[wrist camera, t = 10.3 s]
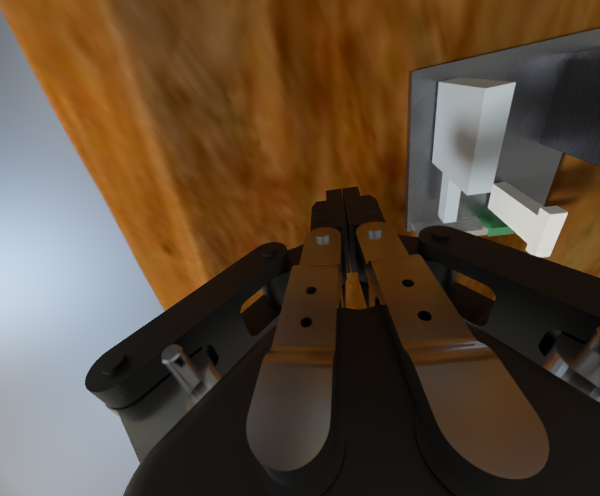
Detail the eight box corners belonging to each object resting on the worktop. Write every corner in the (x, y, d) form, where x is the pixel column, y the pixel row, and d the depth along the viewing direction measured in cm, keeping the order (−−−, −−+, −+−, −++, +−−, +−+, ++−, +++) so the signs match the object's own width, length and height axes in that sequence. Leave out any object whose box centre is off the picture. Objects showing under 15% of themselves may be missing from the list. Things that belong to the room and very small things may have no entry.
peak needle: (486, 213, 24) (533, 257, 19) (494, 177, 22) (550, 214, 17) (498, 211, 24) (549, 256, 19) (507, 175, 22) (568, 212, 17)
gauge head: (428, 208, 25) (457, 251, 19) (438, 81, 19) (485, 88, 13) (443, 206, 24) (478, 249, 19) (459, 77, 19) (516, 81, 13)
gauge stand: (404, 226, 28) (428, 276, 21) (408, 71, 20) (447, 73, 13) (533, 211, 25) (604, 261, 19) (594, 28, 18) (751, 6, 11)
